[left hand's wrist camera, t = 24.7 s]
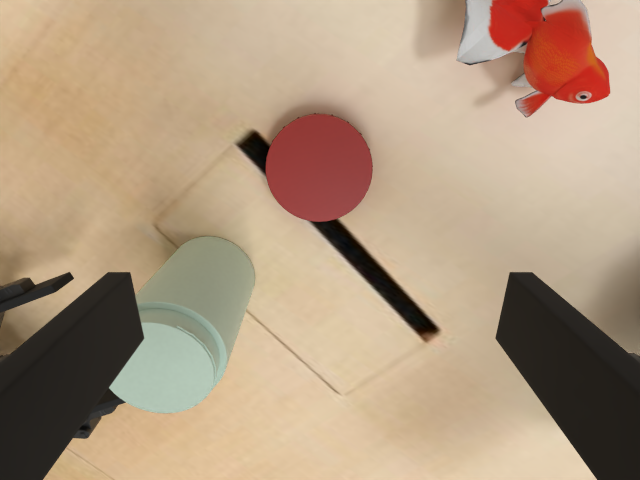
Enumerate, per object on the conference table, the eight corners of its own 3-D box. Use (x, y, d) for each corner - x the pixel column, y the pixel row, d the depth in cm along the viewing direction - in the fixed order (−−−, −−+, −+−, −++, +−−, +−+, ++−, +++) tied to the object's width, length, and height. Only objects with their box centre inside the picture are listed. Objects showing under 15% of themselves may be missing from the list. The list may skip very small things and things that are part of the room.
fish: (496, 171, 32) (578, 113, 22) (394, 39, 34) (429, -68, 25) (585, 112, 34) (700, 32, 24) (482, -12, 36) (549, -133, 26)
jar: (227, 325, 44) (183, 436, 30) (155, 284, 42) (70, 382, 28) (271, 266, 41) (245, 358, 27) (195, 219, 39) (123, 291, 25)
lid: (337, 91, 34) (338, 91, 32) (387, 184, 38) (391, 188, 36) (248, 149, 36) (244, 152, 34) (303, 232, 40) (302, 239, 38)
